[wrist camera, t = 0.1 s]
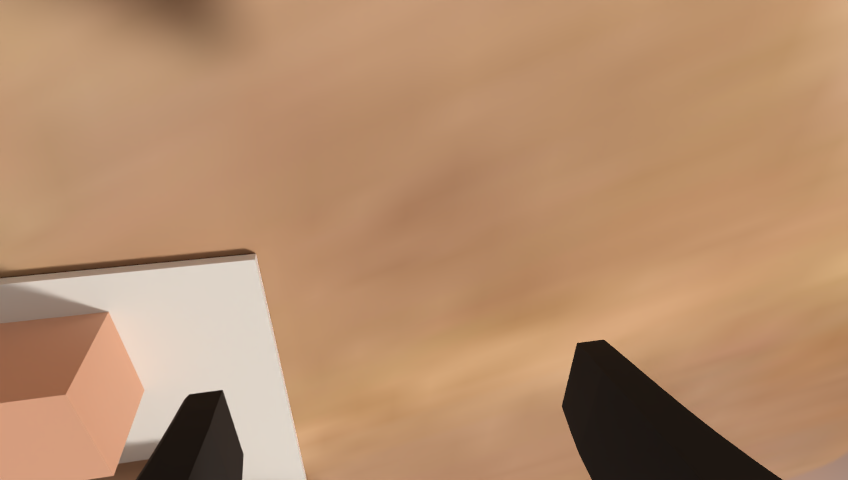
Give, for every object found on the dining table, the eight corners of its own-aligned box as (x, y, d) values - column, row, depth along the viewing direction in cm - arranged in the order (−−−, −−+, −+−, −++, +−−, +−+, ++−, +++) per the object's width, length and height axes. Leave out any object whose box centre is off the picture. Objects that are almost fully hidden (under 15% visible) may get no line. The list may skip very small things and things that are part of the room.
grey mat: (316, 522, 30) (316, 529, 30) (27, 573, 28) (23, 581, 28) (255, 253, 19) (254, 259, 19) (-229, 300, 17) (-240, 308, 17)
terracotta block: (144, 389, 22) (113, 475, 18) (30, 404, 21) (-23, 496, 18) (108, 311, 19) (65, 394, 16) (-22, 325, 19) (-95, 415, 15)
